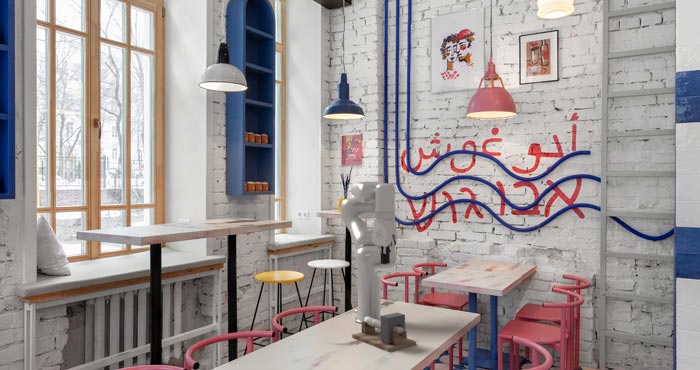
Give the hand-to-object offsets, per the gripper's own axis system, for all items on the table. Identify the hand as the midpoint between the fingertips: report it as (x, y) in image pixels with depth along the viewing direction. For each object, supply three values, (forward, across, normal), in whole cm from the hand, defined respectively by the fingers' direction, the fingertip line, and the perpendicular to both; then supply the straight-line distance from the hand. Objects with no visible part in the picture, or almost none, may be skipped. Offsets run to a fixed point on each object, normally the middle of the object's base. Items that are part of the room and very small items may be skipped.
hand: (385, 263), depth 193 cm
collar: (+25, +13, -7) cm, 29 cm away
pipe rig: (+27, +8, -7) cm, 29 cm away
